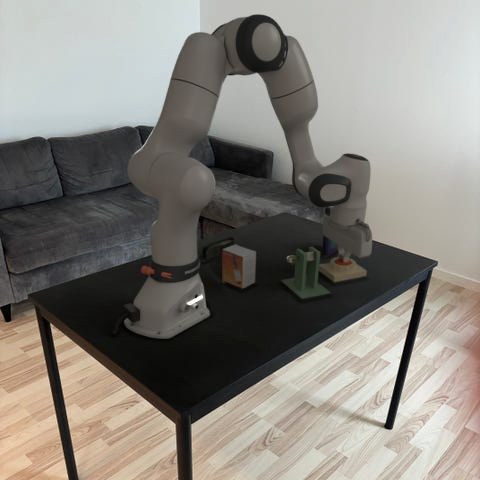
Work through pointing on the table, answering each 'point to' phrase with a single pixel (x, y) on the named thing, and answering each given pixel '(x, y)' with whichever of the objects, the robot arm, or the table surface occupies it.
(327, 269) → the button housing
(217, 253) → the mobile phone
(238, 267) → the small box
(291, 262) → the lever
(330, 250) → the flask
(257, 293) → the table surface
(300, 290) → the switch bracket
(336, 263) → the button
